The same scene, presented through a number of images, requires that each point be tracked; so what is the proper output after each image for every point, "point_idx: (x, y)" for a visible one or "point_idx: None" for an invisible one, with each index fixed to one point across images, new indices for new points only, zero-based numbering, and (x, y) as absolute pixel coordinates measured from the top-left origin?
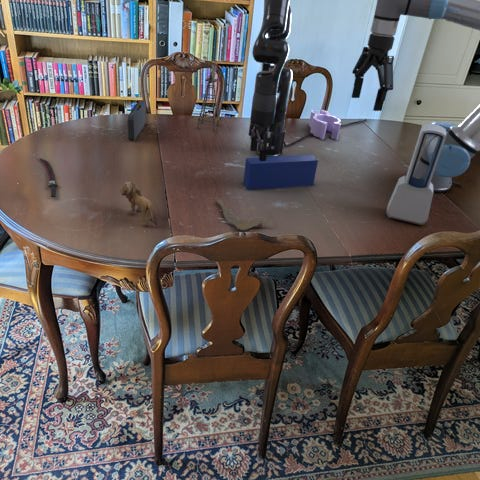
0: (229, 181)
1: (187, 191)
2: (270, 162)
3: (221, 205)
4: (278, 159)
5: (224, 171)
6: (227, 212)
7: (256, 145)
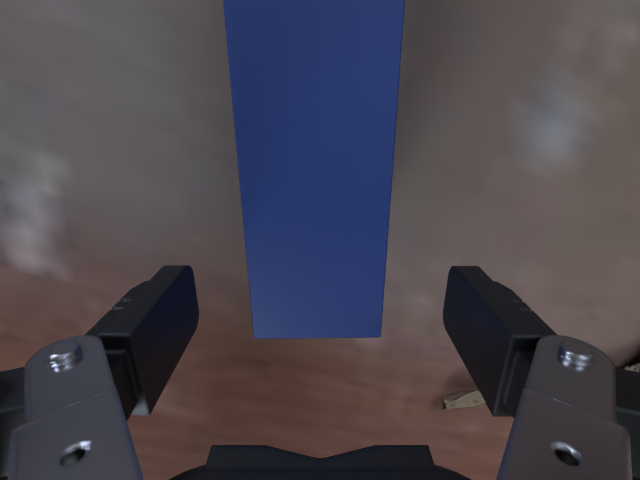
0: (248, 302)
1: None
2: (384, 154)
3: None
4: (321, 18)
5: None
6: None
7: (165, 304)
